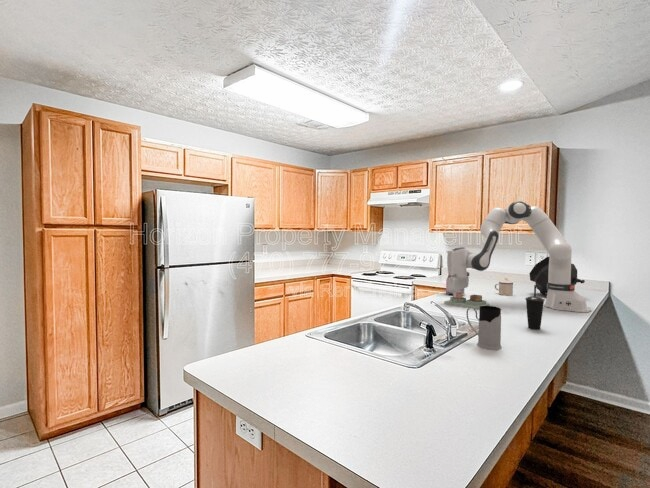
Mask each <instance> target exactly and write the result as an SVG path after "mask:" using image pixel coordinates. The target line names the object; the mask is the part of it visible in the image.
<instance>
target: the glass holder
mask: <svg viewBox="0 0 650 488" xmlns="http://www.w3.org/2000/svg"><path fill="white" fill-rule="evenodd" d="M470 309H473V311H474V314H475V318H476V320H478V332H477V330H475V328H474V327H473V326H472V323H471V322H470V319H469V310H470ZM478 313H479V316H478ZM501 314H502V309H501V307H498V306H493V305H490V306H480V309H478V311H477V309H475V308H472V307H471V308H467V310H466V320H467V323H468V325H469V326H470V328H471V329H472V330H473V332H475V334H476V335H477V336H478V337H477V339H478V340H477V343H476V345H477V347H479V348H481V349H485V350H491V351H498V350H499V351H500V350H501V349H502V345H501V343H502V342H501V341H502V340H501V339H502V338H501V337H502V335H501V334H502V315H501ZM478 317H479V318H478Z"/></svg>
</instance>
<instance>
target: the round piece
mask: <svg viewBox="0 0 650 488" xmlns="http://www.w3.org/2000/svg"><path fill="white" fill-rule="evenodd" d="M456 294H457V297H454V299H463V296H464V294H463V293H458V292H456Z"/></svg>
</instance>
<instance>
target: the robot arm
mask: <svg viewBox="0 0 650 488" xmlns="http://www.w3.org/2000/svg"><path fill="white" fill-rule="evenodd" d="M521 221H524V222H525V223H527V224H528V226H529V228H530V229H531V230H532V231H533V233H534V234H535V236H536V237H537V238H538V240H539V242H540V243H541V244H542V246H543V248H544V249H545V250H546V252H547V253H548V257H549V272H548V283H547V294H546V299H545V301H544V304H543V307H547V308H550V309H552V310H559V311H567V312H575V313H590V312H592V308H591V307H588V306H587V302H586V298H584V297H583V296H582V295H580V294H579V293H578V292H576V291H575V290H576V288H575V287H576V285H575V286H573V285H572V284H571V263H572V251H573V250H572V246H571V245H570V244H569V243H568V242H567V240H566V238H565V237H564V236H563V235H562V234H561V232H560V231H559V229H558V228H557V227H556V225H555V224H554V223H553V220H551V219H550V217H549V216H548V215H547V214H546V213H545V211H544V210H542V208H541V207H539V206H537V205H532V206H530V205H529V204H527V203H526V202H524V201H521V200H517V201H513V202H512V203H510V205H508V206H507V207H506V208H504V209H503V208H502V207H501V208H500V207H493V208H492V209H491V210H490V211H489V212H488V214H487V215H486V216H485V217H484V219H483V221H482V223H481V224H480V229H479V230H480V233H481V235H482V236H483V237H484V238H485V241H484V244H483V246H482V248H481V250H480V251H479V252H477V253H476V252H473V251H470V250H469V249H467V248H466V247H462V246H460V247H456V248H452V249H453V251H452V250H451V251H452V256H451V263H452V267H451V277H450V279H449V284H448V289H449V290H451V291H452V293H453V294H452V295H453V296H452V297H457V294H456V291H457V290H459V289H460V293H463V292H464V293H465V289H467V288H468V287H469V284H470V283H469V282H470V280H469V279H470V278H469V276H470V272H468V271H467V269H472V270H476V271H480V272H482V271H486V270H487V269H488V268H489V266H490V265H491V264H490V263H491V258H492V254H493V252H494V250H495V248H496V246H497V243H498V242H499V241H498V240H499V238H500V237H499V234H500V231H502V230H501V229H502V228H503V227H504V226H503V225H504V224H507V225H516V224H518V223H519V222H521ZM467 267H468V268H467Z"/></svg>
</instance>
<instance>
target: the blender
mask: <svg viewBox="0 0 650 488" xmlns="http://www.w3.org/2000/svg"><path fill="white" fill-rule="evenodd" d="M453 249H454V248H452V249H451V250H446V253H447V257H446V258H447V259H446V260H447V261H446V264H447V266H446V267H447V273H448V275H447V278H446V283H445V285H446V286H445V293H446V295H447V296H450V295H453V293H452V291H451V290H449V289H448V284H449V279H450V277H451V267H452V263H451V256H452V251H453ZM466 269H469V268H468V267H467V268H466ZM456 292H458V293H460V289H459V290H457V291H456ZM464 294H465V291H464V292H463V295H464Z"/></svg>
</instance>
